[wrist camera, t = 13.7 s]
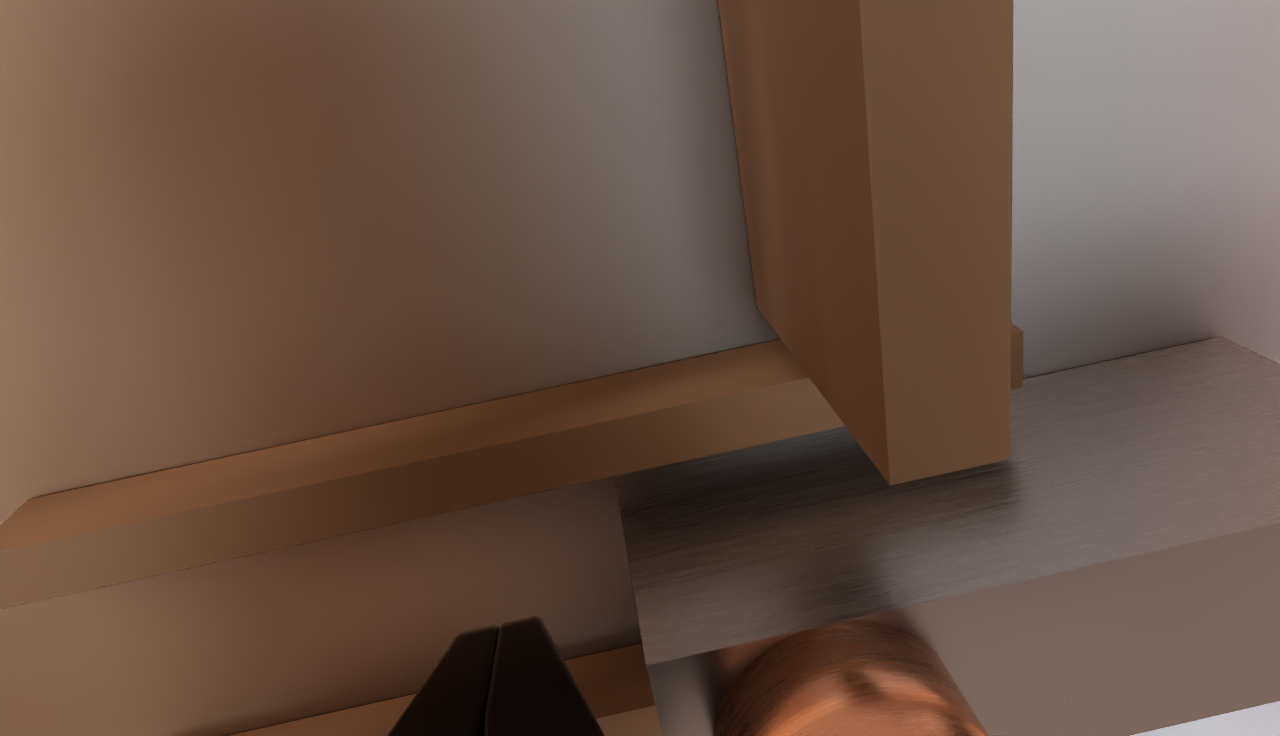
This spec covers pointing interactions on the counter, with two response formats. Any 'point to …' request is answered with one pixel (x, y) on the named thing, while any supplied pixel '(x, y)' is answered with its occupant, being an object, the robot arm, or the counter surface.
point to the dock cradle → (692, 388)
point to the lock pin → (979, 568)
